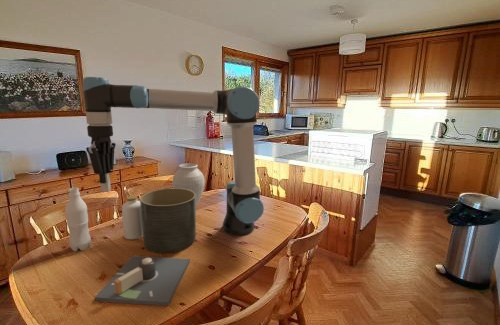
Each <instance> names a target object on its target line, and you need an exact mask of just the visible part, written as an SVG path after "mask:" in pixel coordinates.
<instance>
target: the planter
mask: <svg viewBox="0 0 500 325" xmlns="http://www.w3.org/2000/svg"><path fill="white" fill-rule="evenodd" d="M139 201H140V207H141V219H142V229H143V236H142V238H143V245H144V248H145V249H146V250H148V251H149V252H151V253H152V252H153V253H156V254H172V253H176V252H180V251H184V250H186V249H187V248H189V247H190V246H191V245H193V244H194V242H196V238H197V237H196V236H197V235H196V229H197V228H196V226H197V223H196V222H197V221H196V220H197V206H196V194H195V193H194V192H193V191H191V190H188V189H181V188H173V187H171V188H170V187H168V188H160V189H156V190H150V191H148V192H146V193H144V194H142V195H140V198H139Z"/></svg>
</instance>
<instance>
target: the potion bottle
mask: <svg viewBox="0 0 500 325" xmlns="http://www.w3.org/2000/svg"><path fill="white" fill-rule="evenodd" d="M121 214H122V224H123V225H122V227H123V235H124V238H125V239H127V240H130V241H131V240H138V239H140V238H143V229H142V219H141V207H140V200H138V196H136V195H130V196H127V197H126V201H125V202H124V203H123V204H122V205H121Z"/></svg>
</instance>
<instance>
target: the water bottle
mask: <svg viewBox="0 0 500 325" xmlns="http://www.w3.org/2000/svg"><path fill="white" fill-rule="evenodd" d="M68 191H69V194H68V196H69V200H68V201H67V203H66V206H65V209H64V212H65V217H66V225H67V228H68V232H69V242H68V244H69V247H70V249H71V250H72V251H73V252H78V251H79V250H80V251H86V250H87V248H89V247H90V246H91V244H92V242H91V241H92V239H91V234H90V231H89V215H88V206H87V204H86V202H85V201H84V200H83V199H82V198H81V196H80V195H81V193H80V188H79V187H71V188H69V190H68Z"/></svg>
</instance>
